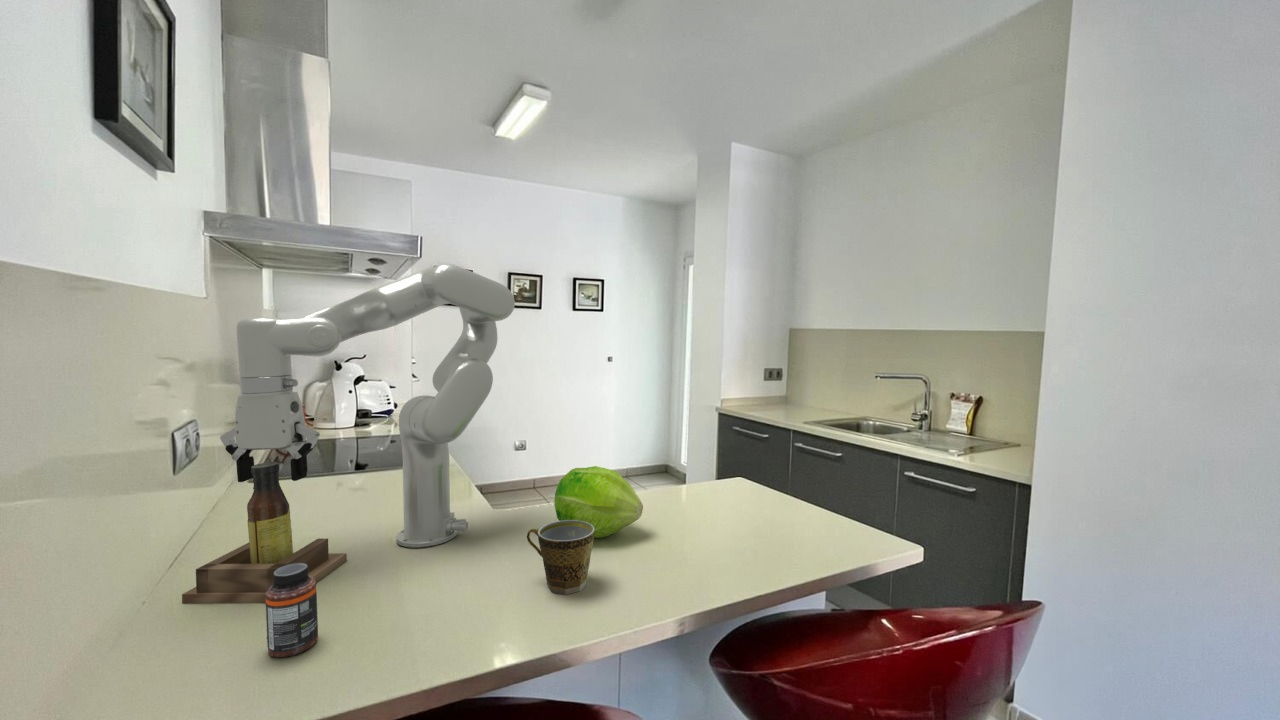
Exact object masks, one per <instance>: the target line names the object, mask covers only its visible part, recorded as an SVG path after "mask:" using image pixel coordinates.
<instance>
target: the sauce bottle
mask: <svg viewBox="0 0 1280 720" xmlns="http://www.w3.org/2000/svg"><path fill="white" fill-rule="evenodd" d="M279 471H280V464H279V462H276V461H271V462H263V463H257V464H254V466H252V467H251V474H252V475H253V478H252V481H253V487H252V489H253V492H252V496H251V498H250V499H249V500H248V502H247V506H246V509H247V510H246V511H247V512H246V513H247V529H248V530H247V531H248V543H249V545H250V558H251V564H276V563H278V562H280V561H281V560H283V559H285V558H286V557H288V556H290V555H291V554H293V553H294V545H293V535H292V533H293V532H292V531H293V530H292V521H291V510H290V503H289V502H288V499H287V497H286V495H285V493H284V491H283V489H282V487H281V483H280V481H279V480H280V478H279Z"/></svg>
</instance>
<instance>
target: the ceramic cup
mask: <svg viewBox="0 0 1280 720" xmlns="http://www.w3.org/2000/svg"><path fill="white" fill-rule="evenodd" d="M594 531H595V529H594V527H593V526H592V525H591V524H589V523H587V522H583V521H576V520H564V521H559V520H558V521H553V522H550V523H547V524H544V525H542V526H541V527H540V528H531V529H530V530H528V532H527V534H526V540H527V541H528V544H529V545H530V546H532V548H533V549H534V550H535V551H536V552H537V553H538V555H539V556H540V557H541V558H542V562H543V567H544V572H545V579H546V585H547V588H548V589H549V590H550V592H551V593H555V594H560V595H565V596H566V595H570V594H574V593H578V592H580V591H582V590H583V589H584V587H586V585H587V581H588V580H587V579H588V576H589V575H588V573H589V567H590V562H591V555H592V551H593V546H594V545H593V544H594V539H595V537H594ZM531 533H533V534H535V535H536V536H537V538H538V545H539V547H538V546H537V545H536V544H535V542H533V541H532V540H531V537H530V536H531Z"/></svg>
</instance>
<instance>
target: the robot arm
mask: <svg viewBox="0 0 1280 720" xmlns="http://www.w3.org/2000/svg"><path fill="white" fill-rule="evenodd" d="M515 303H516V301H515V298H514V295H513V293H512V292H511V290H510V289H509V288H508V287H507V286H505V285H504V284H503V283H500V282H498V281H496V280H492V279H491V278H488V277H486V276H483V275H481V274H479V273H476V272H474V271H471V270H468V269H467V268H463V267H461V266H458V265H455V264H451V263H442V264H439V265H435V266H431V267H427V268H425V269H422V270H419V271H417V272H413V273H411V274H409V275H407V276H404V277H400V278H399V279H395V280H394V281H391V282H388V283H384V284H382V285H380V286H377V287H374V288H372V289H370V290H367V291H365V292H362V293H360V294H358V295H357V296H354V297H352V298H350V299H347V300H344V301H342V302H339V303H337V304H335V305H332V306H329V307H327V308H323V309H321V310H319V311H316V312H313V313H312V314H308V315H306V316H303V317H300V318H299V317H298V318H288V319H287V318H285V319H282V318H278V317H245V318H243V319H240V320H239V321H238V322H237V324H236V339H237V340H236V341H237V344H236V345H237V357H238V371H239V385H240V395H238V396H237V400H236V406H235V414H234V415H235V416H234V418H235V419H234V428H232V429H231V430H228V431H226V432H225V433H224V434H223V433H222V435H220V437H219V439H220V441H221V443H222V444H223V446H224V447H225V451H226V452H227V453H228V454H230V455H231V459H232V460H233V461H236V477H237V482H238V483H244V482H247V481H249V480H253V475H252V474H251V467H252V466H254V465H255V458H254V456H253V455H252V453H253V452H254V451H258V450H260V451H261V450H262V451H263V450H286V451H287V452H288V453H289V454H290V455H291V456H292V457H293V458H292V459H290V461H289V462H290V475H291V481H293V482H296V481H299V480H301V479H304V478H306V477H307V476H308V457H307V456H309V455H310V454H311V452H312V451H313V450H314V449H315V448H316V444H317V442H318V440H319V438H320V435H321V434H320V432H319V431H317V430H315V429H313V428H311V427H309V426H307V425H306V421H305V420H306V419H305V415H304V409H303V405H302V401H301V399H300V396H299V394H298V392H297V391H294V387H297V386H298V384H299V382H298V380H297V379H296V378H295V379H293V375H292V374H293V373H292V356H305V357H315V358H316V357H325V356H327V355H330V354H331V353H333V352H334V351H335V350H336V349H337V348H338V347H339V346H340V344H341V343H343V342H345V341H347V340H351V339H352V338H356V337H358V336H361V335H364V334H368V333H372V332H376V331H377V332H378V331H381V330H385V329H389V328H392V327H395V326H398V325H400V324H402V323H404V322H406V321H409V320H411V319H413V318H416V317H417V316H420V315H421V314H424V313H427V312H429V311H432V310H434V309H435V308H438V307H440V306H445V305H449V304H450V305H453V306H456V307H457V308H458V309H459V312H460V315H461V319H462V332H461V333H460V336H459V337H458V339H457V340H456V342H455V344H453V347H452V348H451V349H450V350H449V352H447V355H445V357H444V358H443V359H442V361H440V363H439V365H438V366H437V367H436V369H435V371H434V372H433V374H432V385H433V388H434V390H436V391H437V394H435V396H433V395H418V396H415V397H412V398H410V399H409V400H408V401H406V402H405V403H404V405H403V406H402V407H401V409H400V411H399V415H398V431H399V434H400V436H399V437H400V442H401V450H402V491H403V492H402V495H403V496H402V497H403V529H402V530H400V532H397V534H396V540H395V541H396V543H397V544H398V545H399V546H401V547H405V548H413V549H414V548H417V549H418V548H427V547H432V546H437V545H440V544H443V543H446V542H449V541H451V540H453V539H454V538H455V537H456V536H458V533H459V531H460V532H461V531H462V532H463V531H464V532H466V531H468V529H469V521H467V519H466V518H458V519H457V518H456V517H455V512H452V511H451V498H450V497H451V493H450V491H451V490H450V487H451V485H450V484H451V482H450V451H449V445H448V444H449V443H451V442H453V441H455V440H457V439H458V438H459V437H460V436H461V435H462V434H463V432H465V430H466V429H467V427H468V426H469V424H470V423H471V422H472V420H473V418H475V415H476V414H477V413H478V411H479V410H480V408H481V406H482V405H483V404H484V403H485V401H486V399H487V398H488V396H489V394H490V392H491V390H492V386H493V382H494V376H493V372H492V369H491V368H490V366H489V364H488V363H489V361H490V359H491V357H492V356H493V354H494V353H495V350H496V348H497V345H498V327H497V323H496V322H499V321H503V320H506V319H507V318H509V317H510V316H511V315H512V313H513V312H514V310H515V305H516V304H515Z"/></svg>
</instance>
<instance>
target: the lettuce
mask: <svg viewBox="0 0 1280 720" xmlns="http://www.w3.org/2000/svg"><path fill="white" fill-rule="evenodd" d="M553 499H554V500H553V501H554V502H553V503H554V509H555V513H556V519H557V520H558V521H564V520H576V521H583V522H587V523H589V524H591V525H592V526H593V527H594V529H595V531H594V538H595V537H596V539H601V538H606V537H609V536H611V535H614V534H615V533H618V532H619V531H621V530H622V529H624V528H626V527H628V526H630V525H631V524H633V523H636V522H637V521H638V520H639V519H640V518H641V516H642V514H643V510H644V504H643V502H642V500H641V499H640V497H639V496H638V494H637V493H636V490H635V489H634V488H633V486H632V485H631V484H630V483H629V482H628V481H627V480H626V479H625V478H624V477H623V476H622V475H621V474H620V473H618V471H616V470H613V469H611V468H605V467H601V466H597V465H594V466H588V467H575V468H572V469H570V470H569V471H568V472H567V473H566V474H565V475H564V476H563V477H562V478H561V479H560V480H559V482H558V484H557V486H556V490H555V492H554V498H553Z"/></svg>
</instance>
